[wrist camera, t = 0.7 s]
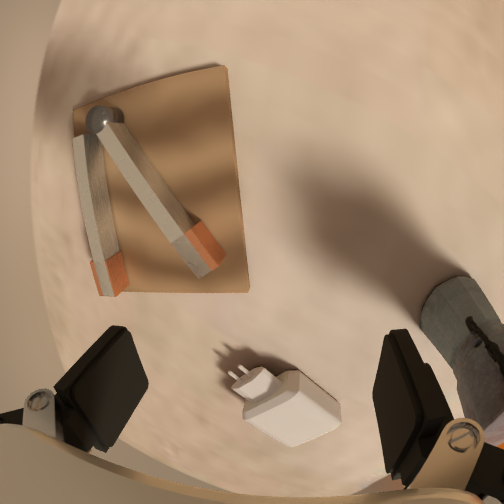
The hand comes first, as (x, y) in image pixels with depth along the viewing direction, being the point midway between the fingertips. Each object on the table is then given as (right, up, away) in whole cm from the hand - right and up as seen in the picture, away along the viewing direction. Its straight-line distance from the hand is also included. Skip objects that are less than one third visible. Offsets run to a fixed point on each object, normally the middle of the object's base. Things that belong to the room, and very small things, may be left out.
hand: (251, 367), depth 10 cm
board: (-10, +10, +18) cm, 23 cm away
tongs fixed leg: (-16, +8, +19) cm, 26 cm away
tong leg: (-9, +11, +17) cm, 22 cm away
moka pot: (+23, -2, +18) cm, 29 cm away
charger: (+4, -14, +25) cm, 29 cm away
